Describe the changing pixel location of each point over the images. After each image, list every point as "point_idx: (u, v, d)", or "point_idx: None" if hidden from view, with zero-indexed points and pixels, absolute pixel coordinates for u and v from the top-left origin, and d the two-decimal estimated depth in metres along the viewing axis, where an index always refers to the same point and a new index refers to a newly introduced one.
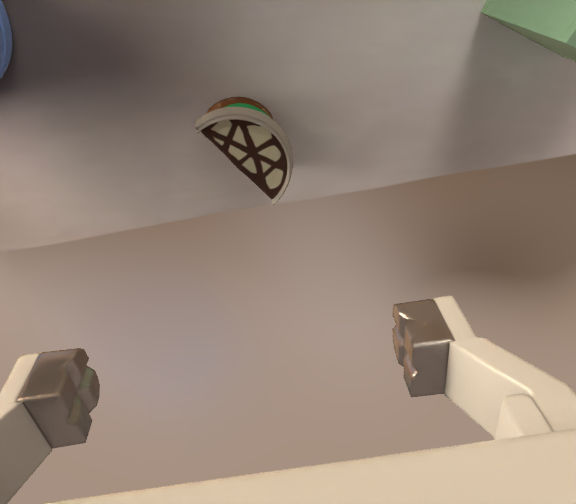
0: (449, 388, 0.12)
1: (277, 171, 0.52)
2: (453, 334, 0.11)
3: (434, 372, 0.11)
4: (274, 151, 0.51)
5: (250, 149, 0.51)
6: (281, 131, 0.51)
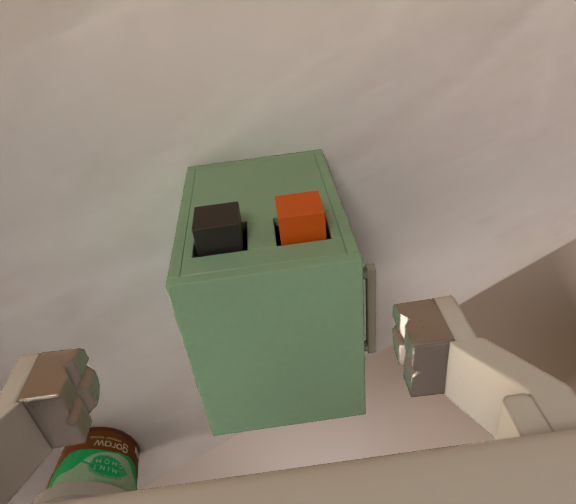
0: (449, 388, 0.12)
1: None
2: (453, 334, 0.11)
3: (435, 373, 0.11)
4: None
5: None
6: (97, 487, 0.55)
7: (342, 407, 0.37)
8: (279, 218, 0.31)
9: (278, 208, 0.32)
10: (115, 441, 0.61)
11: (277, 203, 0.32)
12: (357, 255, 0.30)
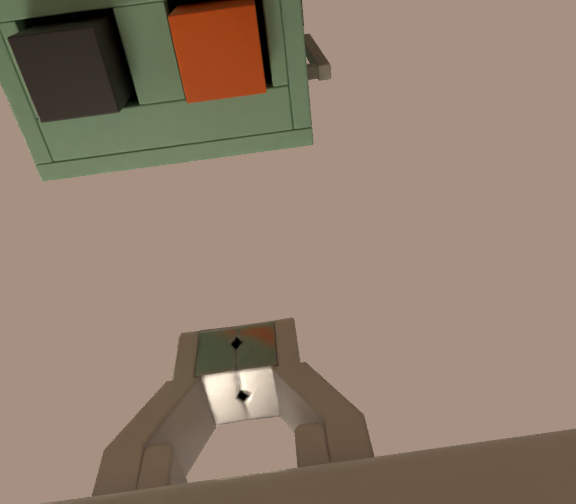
0: (282, 412, 0.12)
1: None
2: (278, 359, 0.11)
3: (266, 396, 0.11)
4: None
5: None
6: None
7: None
8: (189, 101, 0.18)
9: (183, 70, 0.17)
10: None
11: (178, 49, 0.17)
12: (307, 135, 0.21)
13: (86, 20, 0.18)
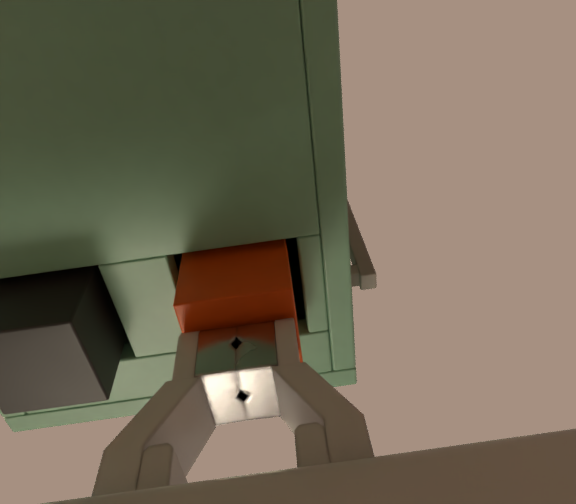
0: (282, 412, 0.12)
1: None
2: (278, 359, 0.11)
3: (265, 396, 0.11)
4: None
5: None
6: None
7: None
8: None
9: None
10: None
11: None
12: (349, 375, 0.17)
13: (63, 280, 0.13)
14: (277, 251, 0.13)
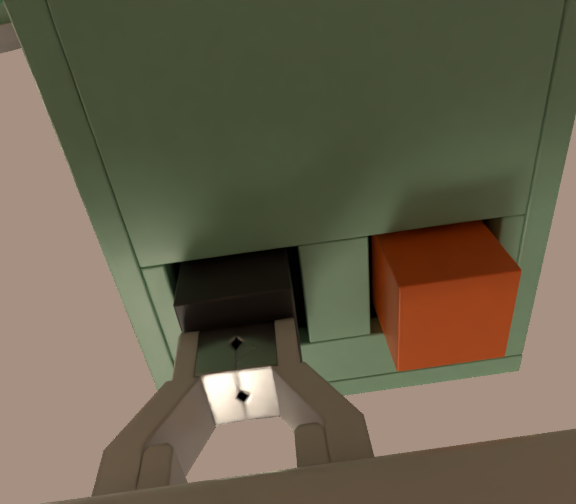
0: (282, 412, 0.12)
1: None
2: (278, 359, 0.11)
3: (266, 397, 0.11)
4: None
5: None
6: None
7: None
8: (400, 369, 0.13)
9: (402, 340, 0.13)
10: None
11: (402, 320, 0.12)
12: (514, 362, 0.16)
13: (260, 251, 0.14)
14: (481, 233, 0.13)
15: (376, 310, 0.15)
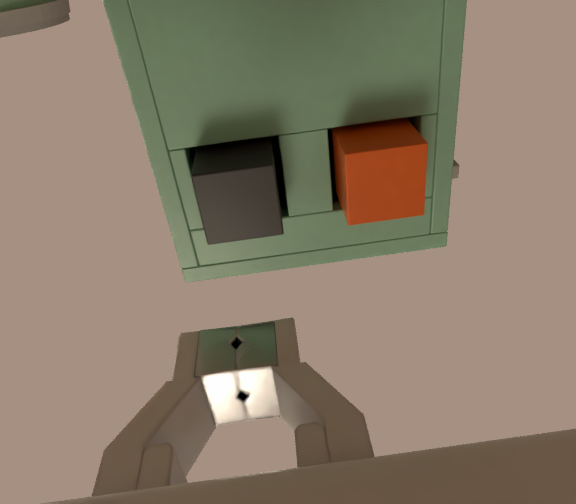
0: (282, 412, 0.12)
1: None
2: (278, 359, 0.11)
3: (266, 396, 0.11)
4: None
5: None
6: (16, 15, 0.45)
7: None
8: (350, 224, 0.19)
9: (350, 198, 0.18)
10: None
11: (349, 181, 0.18)
12: (442, 238, 0.22)
13: (252, 147, 0.19)
14: (406, 126, 0.19)
15: (337, 194, 0.21)
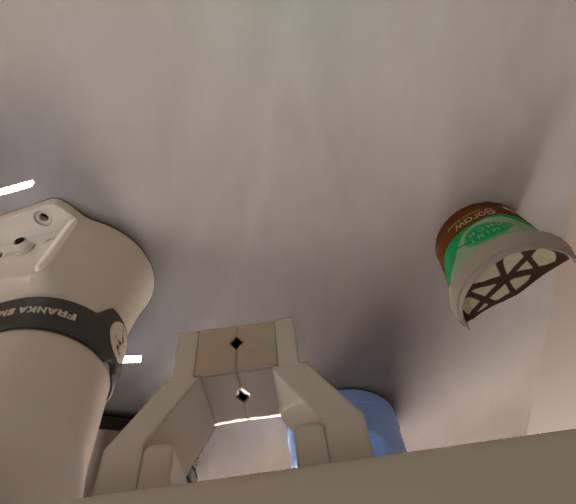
0: (282, 412, 0.12)
1: (536, 254, 0.44)
2: (278, 359, 0.11)
3: (266, 396, 0.11)
4: (510, 258, 0.44)
5: (500, 281, 0.45)
6: (489, 247, 0.44)
7: None
8: None
9: None
10: (473, 213, 0.50)
11: None
12: None
13: None
14: None
15: None
